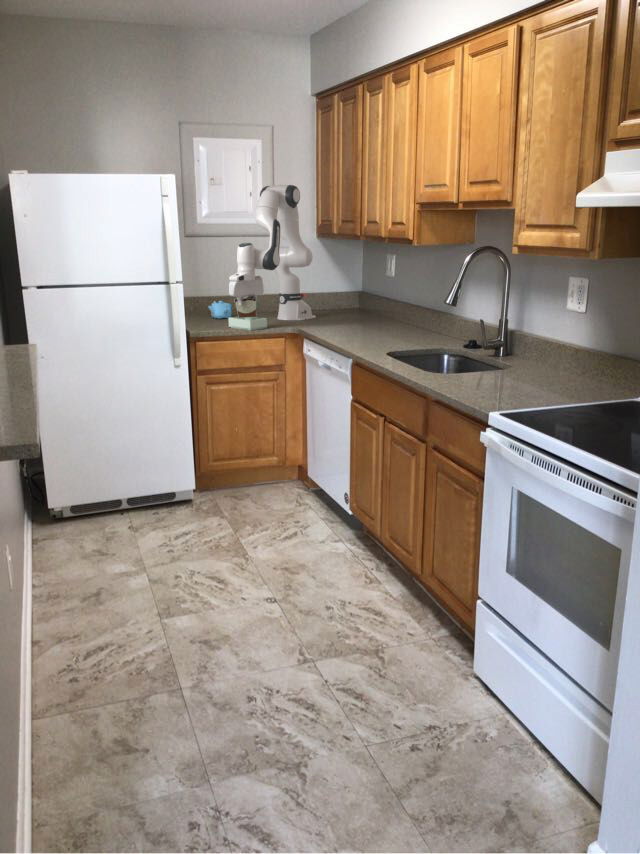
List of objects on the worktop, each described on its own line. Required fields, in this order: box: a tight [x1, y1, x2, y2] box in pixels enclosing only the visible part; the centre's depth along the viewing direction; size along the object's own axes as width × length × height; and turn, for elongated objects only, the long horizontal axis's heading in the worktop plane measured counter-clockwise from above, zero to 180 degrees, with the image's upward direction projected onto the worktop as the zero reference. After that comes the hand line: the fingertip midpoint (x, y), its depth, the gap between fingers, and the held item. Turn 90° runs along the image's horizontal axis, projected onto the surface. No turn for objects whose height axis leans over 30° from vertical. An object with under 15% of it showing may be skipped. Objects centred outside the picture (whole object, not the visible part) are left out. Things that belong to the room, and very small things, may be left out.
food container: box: [233, 295, 259, 318], centre depth 387 cm, size 12×6×10 cm, turn 79°
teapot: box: [207, 300, 232, 320], centre depth 423 cm, size 18×14×10 cm
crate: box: [227, 316, 268, 332], centre depth 388 cm, size 11×17×5 cm, turn 46°
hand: (247, 304), depth 386 cm, fingers closed on food container, 7 cm apart
